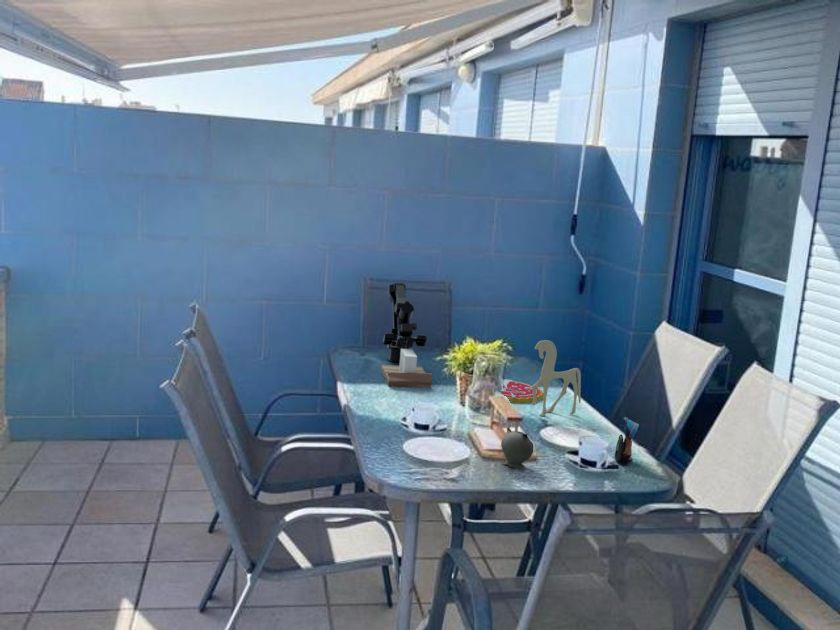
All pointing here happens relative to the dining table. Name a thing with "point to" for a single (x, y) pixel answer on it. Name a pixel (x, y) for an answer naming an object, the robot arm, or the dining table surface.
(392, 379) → the trap deck
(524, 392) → the decorative sign
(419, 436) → the dining table surface
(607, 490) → the dining table surface
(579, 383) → the sculpture
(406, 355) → the light gray block
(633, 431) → the figurine
